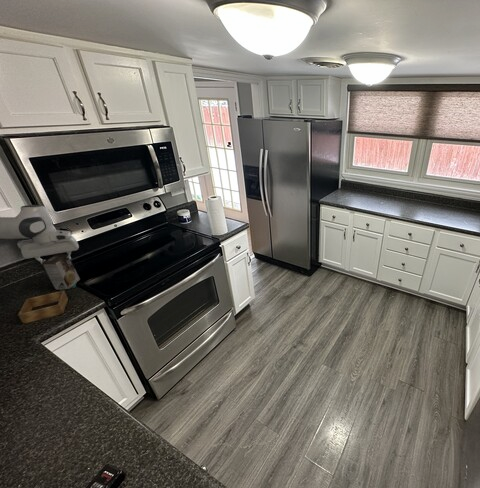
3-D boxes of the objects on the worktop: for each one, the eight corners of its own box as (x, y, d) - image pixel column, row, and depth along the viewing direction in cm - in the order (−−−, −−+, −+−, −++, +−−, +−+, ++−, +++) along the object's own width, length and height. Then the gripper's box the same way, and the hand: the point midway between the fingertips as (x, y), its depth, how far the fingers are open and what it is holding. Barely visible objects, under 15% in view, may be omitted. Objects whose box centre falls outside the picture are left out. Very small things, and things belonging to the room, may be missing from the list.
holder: (22, 324, 115) (17, 315, 113) (31, 307, 125) (26, 298, 123) (63, 313, 122) (58, 304, 120) (68, 298, 132) (64, 290, 129)
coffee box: (67, 280, 145) (55, 254, 137) (80, 279, 145) (68, 253, 138) (54, 289, 136) (40, 263, 129) (68, 289, 137) (55, 262, 130)
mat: (60, 290, 137) (59, 289, 137) (62, 283, 143) (62, 282, 143) (75, 287, 140) (74, 286, 140) (77, 280, 146) (77, 279, 146)
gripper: (13, 243, 121) (26, 269, 127) (71, 234, 132) (81, 259, 138) (17, 238, 126) (30, 263, 132) (73, 230, 137) (83, 254, 142)
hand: (56, 261), depth 135 cm, fingers open, 8 cm apart
